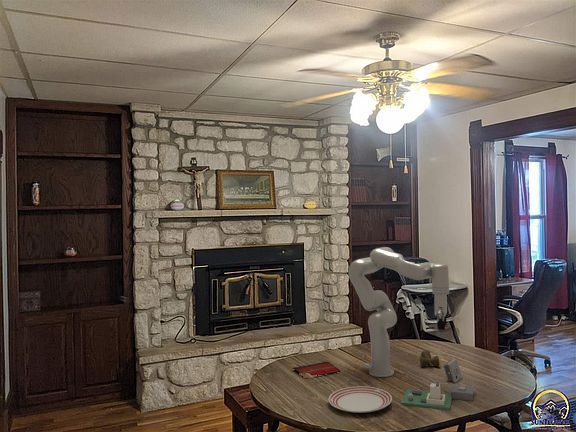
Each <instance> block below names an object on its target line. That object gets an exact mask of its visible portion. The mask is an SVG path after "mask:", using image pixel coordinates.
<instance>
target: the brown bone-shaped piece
mask: <svg viewBox="0 0 576 432" xmlns="http://www.w3.org/2000/svg"><path fill="white" fill-rule="evenodd" d="M419 363H420V368H424V367H427V366H435V367H437V368H440V358H439V356H438V355H435V356H433V357H432V355H431V353H430V351H429V350H422V352H421V353H420V357H419Z"/></svg>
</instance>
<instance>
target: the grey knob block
mask: <svg viewBox="0 0 576 432" xmlns="http://www.w3.org/2000/svg"><path fill="white" fill-rule="evenodd" d="M450 393H451V396H452V400H460V401H461V400H463V401H472V402H473V401H474V386H472V385H471V386H470V385H469V386H468V385H459V384H451V389H450Z"/></svg>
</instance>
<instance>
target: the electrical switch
mask: <svg viewBox="0 0 576 432" xmlns="http://www.w3.org/2000/svg"><path fill="white" fill-rule="evenodd" d="M443 368H444V371H445V375H446V378H447V381H448V382H452V383H454V384H456V383H457V382H459V380H461V379H462V378H463V375H462V372H461V369H460V365H459V363H458V360H457V358H454V359H452V360H450V361H448V362H446V363H445V364H444V365H443Z"/></svg>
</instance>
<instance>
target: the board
mask: <svg viewBox="0 0 576 432" xmlns="http://www.w3.org/2000/svg"><path fill="white" fill-rule="evenodd" d="M452 401H453V399H452V396H451V392H450V393H449V392H443V391H442V392H441V400H437V399H431V398H430V390H418V389H408V388H407V389H406V390H405V393H404V395H403V397H402V400H401V402H400V403H401V404H400V405H401V406H408V407H418V408H419V407H420V408H428V409H429V408H430V409H439V410H447V411H450V410H451V406H452Z"/></svg>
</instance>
